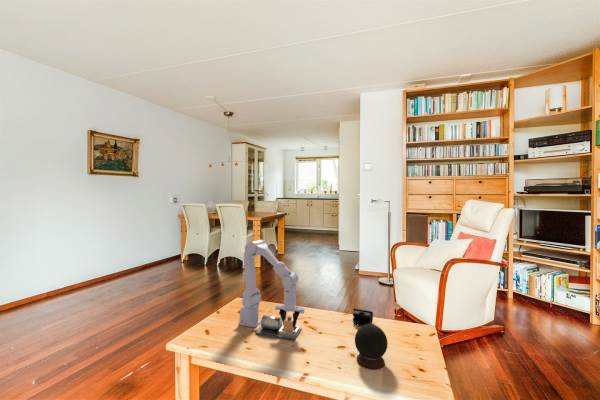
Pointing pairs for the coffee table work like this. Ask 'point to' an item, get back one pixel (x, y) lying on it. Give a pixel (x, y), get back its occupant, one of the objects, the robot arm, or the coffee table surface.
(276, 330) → the motor mount
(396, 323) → the coffee table surface
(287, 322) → the cube with grey knob
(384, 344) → the black orb on pedestal
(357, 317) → the end cap
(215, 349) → the coffee table surface
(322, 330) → the coffee table surface
